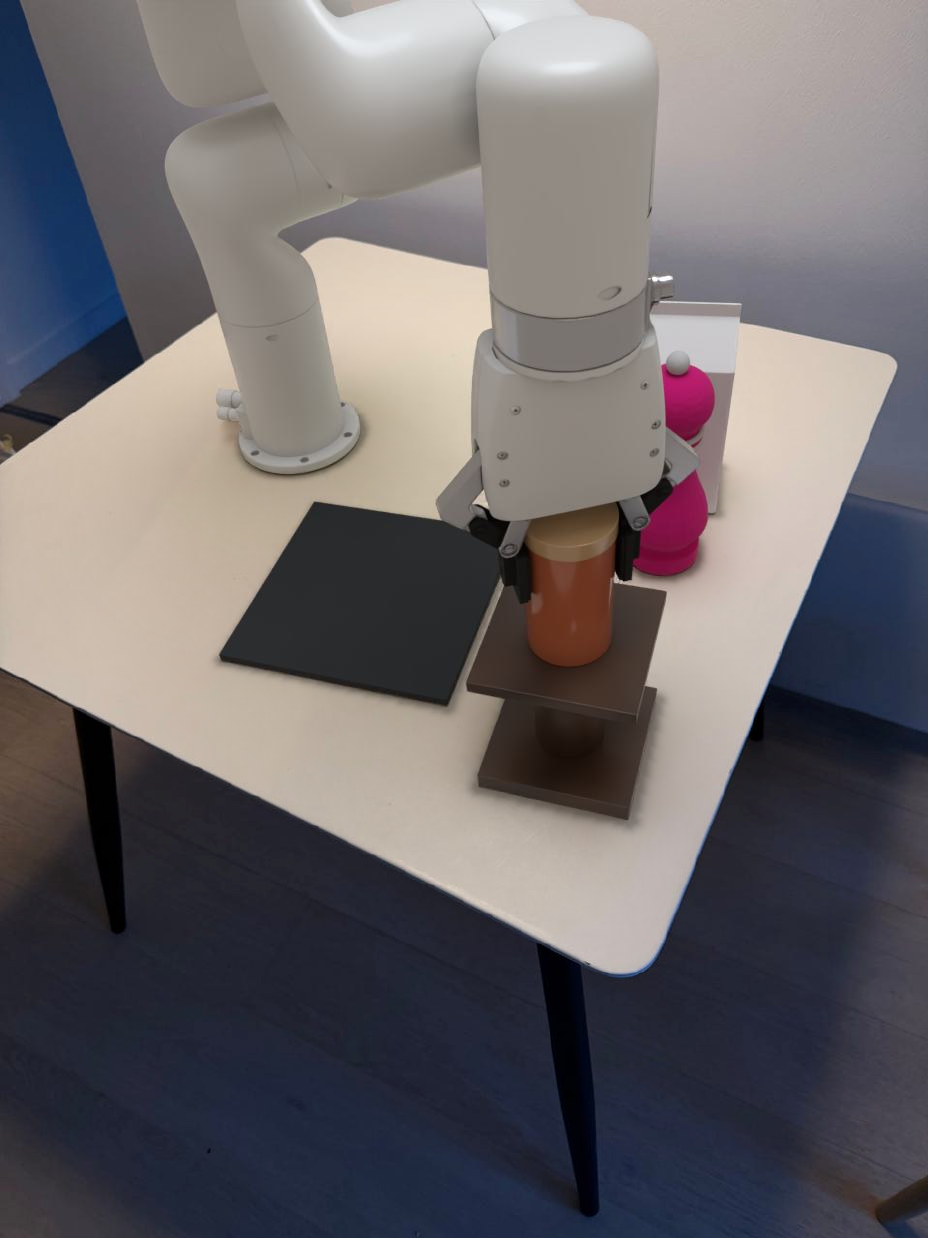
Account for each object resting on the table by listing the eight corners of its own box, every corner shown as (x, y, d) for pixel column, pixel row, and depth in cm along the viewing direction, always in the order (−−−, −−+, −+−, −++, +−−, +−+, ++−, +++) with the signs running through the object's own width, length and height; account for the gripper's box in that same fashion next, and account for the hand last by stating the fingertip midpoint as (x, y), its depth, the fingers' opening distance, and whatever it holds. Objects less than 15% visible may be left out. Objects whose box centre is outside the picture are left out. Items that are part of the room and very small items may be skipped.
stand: (478, 787, 72) (465, 682, 63) (518, 674, 79) (511, 565, 70) (628, 820, 69) (636, 715, 60) (656, 700, 76) (667, 590, 67)
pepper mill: (682, 590, 84) (706, 390, 69) (605, 563, 87) (612, 365, 72) (715, 539, 88) (744, 339, 73) (640, 515, 91) (654, 318, 76)
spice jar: (515, 659, 64) (507, 538, 57) (537, 597, 68) (533, 475, 60) (603, 675, 63) (607, 554, 55) (621, 611, 66) (627, 488, 59)
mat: (220, 660, 83) (218, 654, 82) (315, 507, 95) (314, 500, 95) (447, 706, 77) (446, 700, 77) (515, 537, 90) (515, 531, 89)
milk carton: (715, 515, 90) (741, 327, 76) (636, 509, 91) (647, 324, 77) (717, 466, 95) (742, 281, 81) (642, 461, 96) (654, 279, 82)
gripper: (706, 248, 52) (679, 511, 65) (382, 308, 50) (422, 565, 63) (767, 319, 47) (724, 589, 60) (409, 388, 45) (446, 650, 58)
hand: (569, 575), depth 61 cm, fingers closed on spice jar, 5 cm apart
